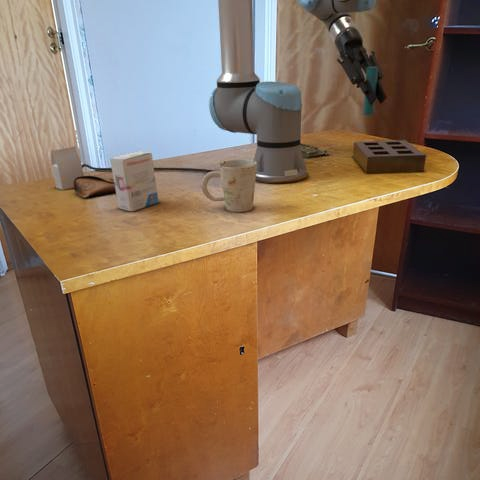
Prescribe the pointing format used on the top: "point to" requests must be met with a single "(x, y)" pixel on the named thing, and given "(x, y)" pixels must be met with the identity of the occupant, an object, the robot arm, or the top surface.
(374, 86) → the peg
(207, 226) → the top surface
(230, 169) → the mug
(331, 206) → the top surface
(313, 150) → the keyboard
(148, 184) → the ink box
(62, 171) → the grey box
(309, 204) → the top surface
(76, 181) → the sunglasses case
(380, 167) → the peg board
